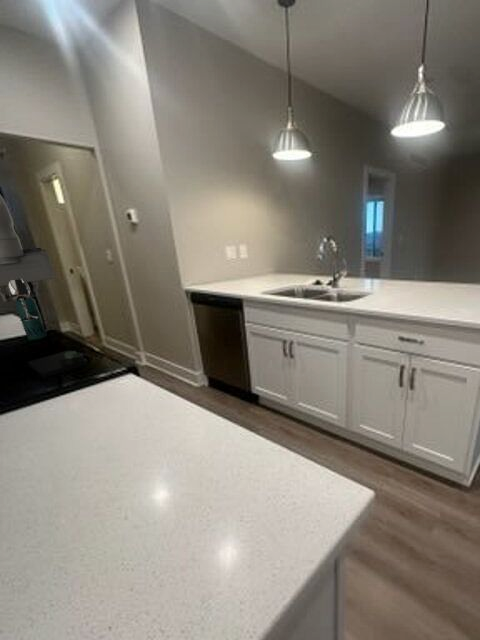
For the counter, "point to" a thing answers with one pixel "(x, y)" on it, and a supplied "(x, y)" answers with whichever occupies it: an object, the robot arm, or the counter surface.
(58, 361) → the scale
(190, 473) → the counter surface
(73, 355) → the tare button
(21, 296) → the wineglass
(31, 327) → the beverage bottle
